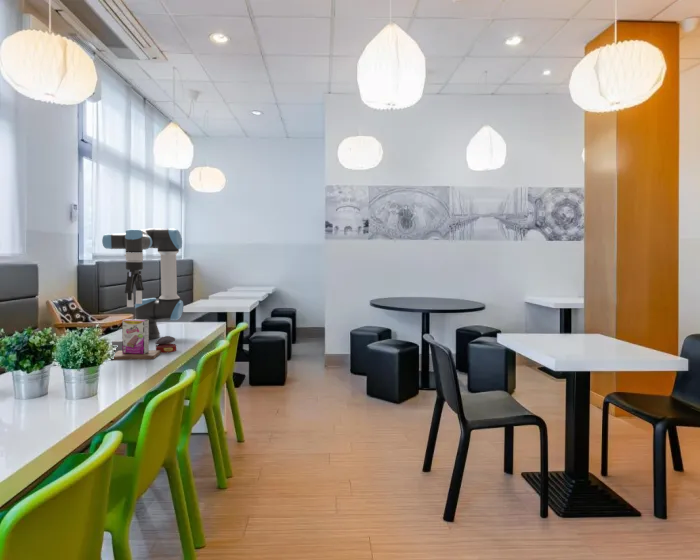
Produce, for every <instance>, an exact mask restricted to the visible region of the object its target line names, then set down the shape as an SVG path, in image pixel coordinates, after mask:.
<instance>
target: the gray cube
mask: <svg viewBox="0 0 700 560" xmlns="http://www.w3.org/2000/svg"><path fill="white" fill-rule="evenodd" d="M112 345H118V347H117V348H116V351H115V352H117V351H122V339H114V340H113V341H111V346H112Z"/></svg>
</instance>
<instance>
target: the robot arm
mask: <svg viewBox="0 0 700 560" xmlns="http://www.w3.org/2000/svg"><path fill="white" fill-rule="evenodd" d="M182 239H183V238H182V235H181V232H180V230H178V229H176V228H156V227H155V228H145V229H144V228H143V229H130V228H129V229H128V228H127V229H126V230H125V232H123V233H105V234H104V235H103V236H102V239H101V240H102V246H103V248H105V249H106V250H125V254H124V257H125V261H126V262H125V269H126V270H127V273H126V274H127V275H126V284H125V290H124V294H126V308H134V317H135V318H134V319H142V320H149V340H153V339H158V338H161V335H160V334H161V333H160V330H159V327H158V323H157V320H158V321H178V320H179V319H181V317H182V315H183V311H184V301H183V300H181V297H180V296H179V295H178V292H177V291H178V289H177V288H178V285H177V284H178V283H177V279H178V277H177V274H178V273H177V254H179V252H180V251H179V250H180V249H182V248H183V240H182ZM148 249H157V252H158V254H160V285H161V286H160V288H161V291H160V292H161V295H160V296H159V297H158V299H157V298H156V297H150V298H143V291H145V290H144V289H145V288H144V284H143V277H142V276H143V275H142V271H141V270H144V262H143V260H144V254H143V253H144V251H143V250H148ZM134 289H136V290H135V303H134V293H133V292H134Z"/></svg>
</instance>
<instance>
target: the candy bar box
mask: <svg viewBox="0 0 700 560" xmlns="http://www.w3.org/2000/svg"><path fill="white" fill-rule="evenodd" d="M121 325H122V327H121V328H122V330H121V331H122V332H121V333H122V339H121V340H122V353H124V354H146V353H148V352H149V350H150V347H149V346H150V341H149V340H150V339H149V320H142V319H135V318H127V319H123V320H122V321H121Z"/></svg>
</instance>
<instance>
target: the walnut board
mask: <svg viewBox="0 0 700 560" xmlns="http://www.w3.org/2000/svg"><path fill="white" fill-rule="evenodd" d="M114 353H115V356H114V359H113V360H116V361H121V360H126V361H127V360H154V359H155V358H157V357H158V356H159V355H160V354H162V353H161V350H156V349H154V350H153V349H149V352H148V353H146V354H124V353H122V351H115V352H114ZM113 360H112V361H113Z"/></svg>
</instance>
